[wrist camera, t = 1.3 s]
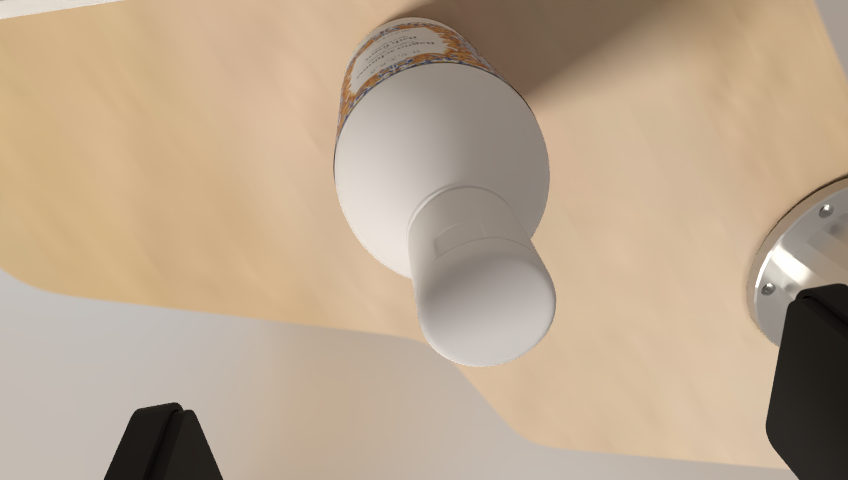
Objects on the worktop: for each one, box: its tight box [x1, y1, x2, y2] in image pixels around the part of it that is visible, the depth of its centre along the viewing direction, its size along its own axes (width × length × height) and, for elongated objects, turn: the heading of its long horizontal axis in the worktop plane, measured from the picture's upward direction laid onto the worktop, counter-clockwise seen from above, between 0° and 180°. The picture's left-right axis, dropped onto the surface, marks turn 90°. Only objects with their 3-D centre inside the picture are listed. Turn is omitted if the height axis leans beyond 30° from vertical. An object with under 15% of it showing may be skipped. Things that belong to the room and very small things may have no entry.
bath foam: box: [334, 17, 556, 367], centre depth 21 cm, size 7×7×20 cm
